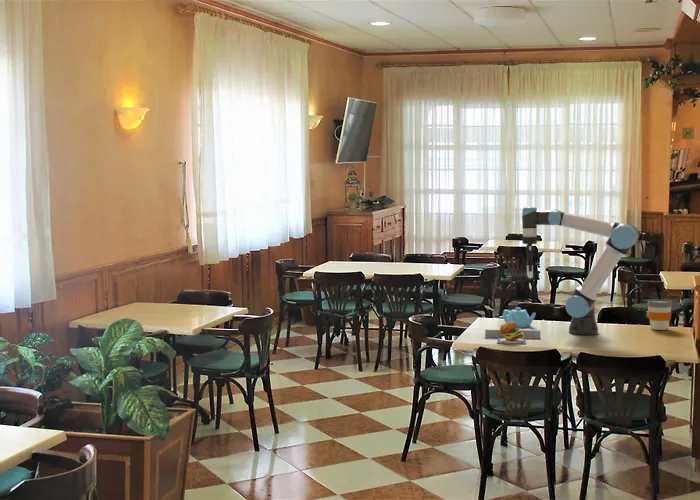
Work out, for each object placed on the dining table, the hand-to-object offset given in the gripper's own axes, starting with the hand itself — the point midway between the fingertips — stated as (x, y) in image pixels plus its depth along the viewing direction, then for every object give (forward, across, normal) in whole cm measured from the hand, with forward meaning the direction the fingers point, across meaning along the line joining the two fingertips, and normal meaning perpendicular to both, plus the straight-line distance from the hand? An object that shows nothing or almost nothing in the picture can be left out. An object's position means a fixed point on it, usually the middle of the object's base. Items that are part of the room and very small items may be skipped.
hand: (529, 276), depth 438 cm
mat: (+30, +24, -10) cm, 40 cm away
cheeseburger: (+30, +24, -8) cm, 39 cm away
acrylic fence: (+30, +13, -9) cm, 35 cm away
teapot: (+31, -22, -6) cm, 38 cm away
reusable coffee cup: (+31, -21, +69) cm, 79 cm away
